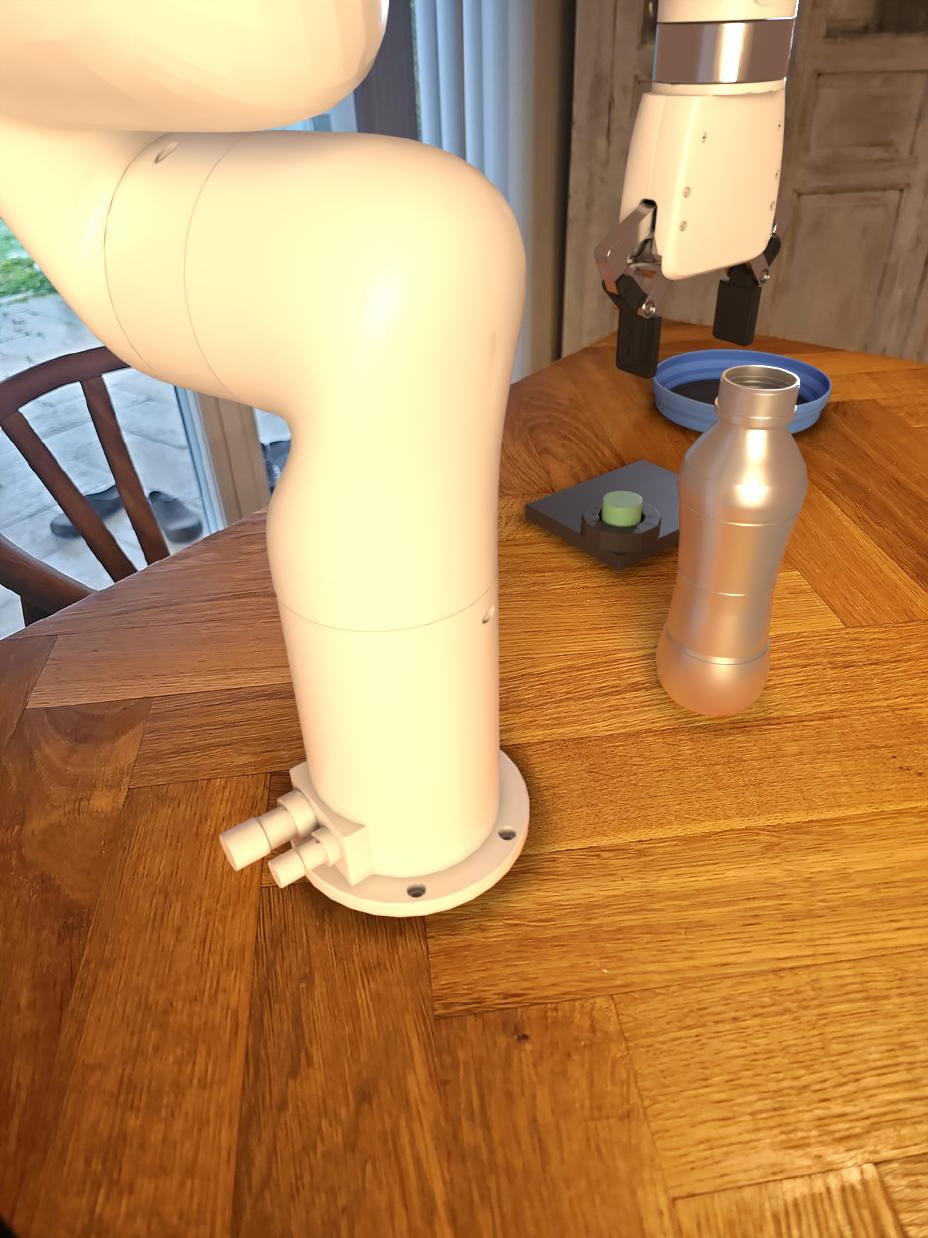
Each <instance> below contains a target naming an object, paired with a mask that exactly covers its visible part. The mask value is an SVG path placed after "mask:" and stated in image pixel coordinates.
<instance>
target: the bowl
mask: <svg viewBox="0 0 928 1238" xmlns="http://www.w3.org/2000/svg"><path fill="white" fill-rule="evenodd" d="M745 365H759V366H769V367H775V368H780V369H783V370H787V371H789V372H792V373H793V374H795V375H797V376H798V377H799V379H800V387H799V392H798V396H797V401H796V406H797V411H796V416H795V419H794V420H793V421H792V422H790V423H788V424H787V428H788V430H789V431H790V433H791V435H792V434H796V433H799V432H802V431H805V430H807V429H809V428H810V427H811V426H813V425H814V424H815V423H817V421H818V420H819V418H820V415H821V412H822V410H823V409H824V408H825V406H826V405H827V404H828V401H829V399H830V398H831V394H832V388H833V384H832V380H831V379H830V377H829V375H827V373H825V372H824V371H823V370H821V369H819V368H818V367H816V366H815V365H812V364H810V363H808V362H805V361H802V360H799V359H796V358H793V357H789V356H785V355H781V354H777V353H771V352H765V351H759V350H750V349H749V350H748V349H735V348H734V349H731V348H730V349H728V348H727V349H726V348H724V349H723V348H719V349H703V350H695V351H688V352H684V353H680V354H677V355H673V356H671V357H668V358H666V359H664V360H662V361H661V362H659V363H658V365H657V373H656V375H655V377H653V378H651V386H652V392H653V394H654V396H655V398H654V401H655V402H654V403H655V406H656V408H657V410H658V411H659V413H660V414H661V415H662V416H663V417H665V418H666V419H668V420H669V421H671V422H672V423H674V424H676V425H679V426H681V427H683V428H685V429H689V430H692V431H696V432H700V433H702V434H703V433H704V432H705V431H706V430H707V429H708V428H709V427H710V426H711V425H712V424H713V423H714V422H715V421H717V419H718V417H719V416H717V415H716V413H715V412H714V405H715V400H716V398H717V397H718V393H719V387H720V380H721V377H722V374H723V372H724V371H725V370H727V369H729V368H732V367H737V366H745Z"/></svg>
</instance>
